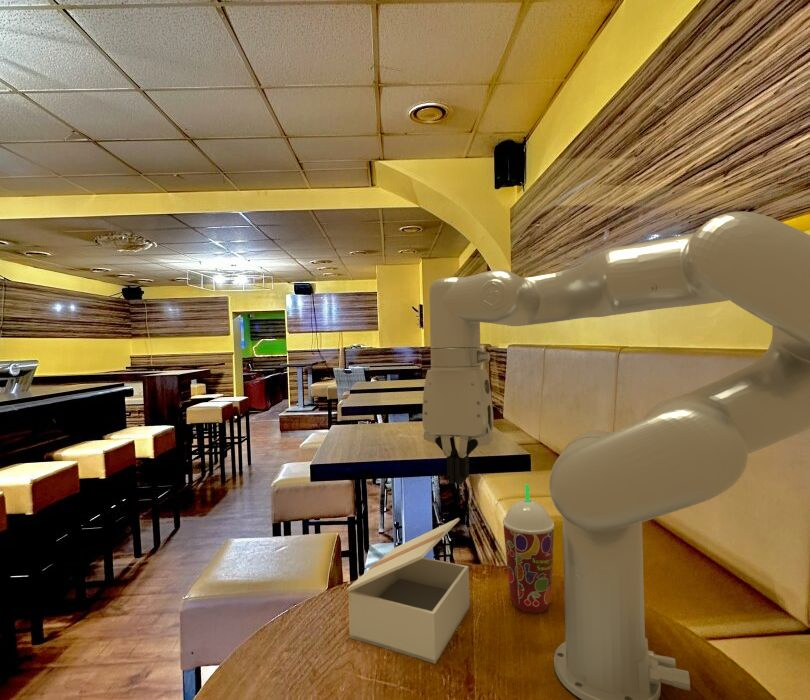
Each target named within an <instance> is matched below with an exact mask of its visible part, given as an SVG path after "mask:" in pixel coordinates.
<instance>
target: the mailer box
mask: <svg viewBox="0 0 810 700" xmlns="http://www.w3.org/2000/svg"><path fill="white" fill-rule="evenodd" d="M347 593H348V595H347V596H348V624H349V625H348V627H349V628H348V631H349V634H348V635H349V638H350V639H353V640H355V641H356V640H357V641H360V642H363V643H366V644H369V645H372V646H376V647H378V648H382V649H386V650H389V651H391V652H396V653H398V654H402V655H405V656H409V657H411V658H415V659H418V660H422V661H424V662H427V663H432V664H436V663H437V662H438V661H439V658H441V656H442V653H444V651H445V649H446V647H447V646H448V643H450V640H451V639H452V637H453V636H454V633H456V631H457V629H458V628H459V626H460V624H461V622H462V621H463V619H464V618H465V616H466V614H467V613H468V612H469V609H470V607H471V606H470V605H471V604H470V603H471V601H470V600H471V599H470V567H469V566H468V565H465V564H459V563H455V562H448V561H444V560H439V559H433V558H427V557H425V556H424V557H423V558H422V559H420V560H418V561H416V562H413V563H411V564H409V565H407V566H404V567H402V568H400V569H398V570H395V571H393V572H391V573H389V574H386V575H384V576H382V577H380V578H377V579H375V580H373V581H371V582H368V583H366V584H364V585H362V586H359V587H357V588H355V589H353V590H350V591H348V592H347Z"/></svg>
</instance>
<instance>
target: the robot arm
mask: <svg viewBox="0 0 810 700" xmlns="http://www.w3.org/2000/svg"><path fill="white" fill-rule="evenodd" d="M428 293H429V294H428V295H429V332H430V333H429V334H430V335H429V336H430V339H429V340H430V369H427V371H426V374H425V381H424V387H423V394H422V395H423V397H422V427H423V430H424V432H423V440H425V441H426V442H430V443H432V444H436V445H437V447H439V449H441V450H442V452H443V453H442V454H443V455H444V456H445V457H446V475H447V477H449V484H450V485H451V484H452V485H454V484H456V485H462V484H463V483H464V482H466V481H467V479H468V478H469V476H470V455H471V454H472V452H473V451H475V449H476V448H478V447H484V446H490V445H491V444H492V443H494V439H493V435H492V431H493V429H494V409H493V400H492V391H491V384H490V378H489V375H488V370H487V368H482V366H483V364H484V363H485V362H490V360H491V353H490V351H489V352H488V351H486V352H485V351H483V349H482V348H481V323H485V324H495V325H500V326H501V325H502V326H507V327H522V326H523V327H524V326H525V327H527V326H531V325H532V326H533V325H534V326H535V325H539V324H541V325H543V324H548V323H558V322H564V321H570V320H571V321H572V320H578V319H585V318H604V317H605V318H606V317H610V316H617V315H624V314H632V313H639V312H646V311H655V310H662V309H671V308H672V309H673V308H680V307H691V306H698V305H706V304H707V305H708V304H714V303H722V302H728V301H730V302H731V303H733V304H734V305H736V306H738V307H739V308H741V309H743V310H744V311H746V312H748V313H749V314H752V315H753V316H754V317H756V318H758V319H759V320H761V321H763V322H765V323H767V324H769V325H770V326H772V327H771V328H772V332H771V333H772V336H771V341H770V344H769V346H768V348H767V349H766V351H765V352H764V354H762V355H761V357H759V358H758V359H757V360H755V361H754V362H753V363H751V364H749V365H747V366H745V367H744V368H741V369H739V370H737V371H734V372H732V373H730V374H728V375H727V376H724V377H723V378H720V379H718V380H716V381H713V382H710V383H708V384H706V385H703V386H701V387H699V388H697V389H696V388H695V389H694V390H691V391H689V392H687V393H684V394H681V395H678V396H676V397H673V398H670V399H666V400H664V401H661V402H659V403H657V404H656V405H655V406H653V407H652V408H651V409H649V411H648V412H647V413H646V415H645V416H644V418H643V419H641V420H639V421H636V422H634V423H632V424H630V425H627V426H625V427H623V428H620V429H618V430H615V431H613V432H609V431H605V430H589V431H585V432H582V433H580V434H578V435H577V436H574V438H573V439H571V440H570V441H569V442H568V444H567V445H565V447H564V448H563V450H562V451H561V452H560V454H559V455H558V457H557V459H556V460H555V462H554V463H553V466H552V468H551V471H550V474H549V479H548V489H549V494H550V498H551V500H552V503H553V506H554V507H555V509H556V510H557V512H559V514H560V515H561V516H562V551H563V552H562V553H563V554H562V557H563V558H562V559H563V587H564V588H563V589H564V590H563V592H564V593H563V594H564V596H563V597H564V622H565V623H564V625H565V628H564V630H565V641H564V642H562V643H561V644H560V645H558V647H556V650H555V652H554V656H553V664H554V665H553V667H554V671H555V674H556V676H557V678H558V679H559V681H560V682H561V683H562V684H563V686H564V687H565V688H566V689H567V690H568V691H569V692H571V694H573V695H574V696H575V697H577V698H579V699H581V700H659V698H660V697H661V688H662V686H661V684H665V685H669V686H672V687H674V688H678V689H682V690H686V691H689V692H690V691H691V679H690V672H689V671H688V670H683V669H680V668H677V665H676V658H675V657H670V656H667V655H659V654H656V653H655V652H654V650H653V651H652V650H649V643H648V642H649V640H648V637H646V630H645V629H646V628H645V625H646V623H645V594H644V593H645V591H644V588H645V587H644V553H643V552H644V548H643V523H644V522H647V521H650V520H653V519H656V518H660V517H663V516H665V515H669V514H671V513H674V512H678V511H680V510H684V509H687V508H690V507H693V506H696V505H700V504H702V503H704V502H706V501H709V500H711V499H714V498H716V497H718V496H719V495H720V496H721V494H723V493H725V492H727V491H728V490H729V489H731V488H732V487H733V486H734V485H735V484H736V483H737V482H738V481H739V479H740V478H741V477H742V475H743V474H744V472H745V470H746V469H747V464H748V459H749V454H751V453H755V452H756V451H760V450H762V449H764V448H767V447H771V446H773V445H774V444H777V443H779V442H782V441H784V440H786V439H789V438H792V437H794V436H796V435H798V434H802V433H804V432H805V431H807V430H810V234H809V233H807V232H804V231H802V230H800V229H798V228H796V227H794V226H791V225H789V224H787V223H784V222H783V221H781V220H778V219H775V218H773V217H771V216H767V215H765V214H761V213H757V212H752V211H733V212H732V211H731V212H726V213H723V214H720V215H717V216H715V217H713V218H711V219H710V220H709V219H708V221H706V222H705V223H703V224H702V225H701V226H700V227H698V229H697V230H696V231H695V232H691V233H688V234H682V235H676V236H672V237H671V236H670V237H666V238H661V239H655V240H650V241H644V242H639V243H633V244H628V245H622V246H616V247H612V248H611V247H610V248H608V249H605V250H602V251H601V252H598V253H596V254H595V255H593V256H592V257H591V258H589V259H588V260H586V261H584V262H583V263H581V264H579V265H576V266H574V267H572V268H571V267H570V268H569V269H565V270H561V271H557V272H551V273H546V274H541V275H534V276H530V277H522V276H520V275H518V274H516V273H515V272H512V271H510V270H507V269H492V270H489V271H488V270H487V271H484V272H480V273H477V274H472V275H468V276H452V277H450V276H449V277H442V278H438V279H435V280H434V281H433V282H431V284H430V287H429V292H428ZM457 437H458V438H459V444H458V445H457V441H456V438H457Z"/></svg>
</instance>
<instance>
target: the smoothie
mask: <svg viewBox="0 0 810 700" xmlns="http://www.w3.org/2000/svg"><path fill="white" fill-rule="evenodd" d="M524 490H525V493H524V494H525V495H524V496H525V499H522V500H519V501H517V502H515V503H513V504H512V505H511V506H510V507H509V509H508V510H507V512H506V515H505V517H503V519H502V524H503V535H504V547H505V548H504V549H505V556H506V558H505V559H506V567H507V568H506V569H507V580H508V591H509V592H508V593H509V597H510V598H511V599H512V603H513V605H514V606H515V607H516V608H517V609H518V610H520V611H522V612H525V613H531V614H534V613H535V614H538V613H542V612H544V611H547V609H548V607H549V604H550V603H551V601H552V591H553V589H552V588H553V587H552V586H553V563H554V561H553V559H554V558H553V557H554V533H555V532H554V530H555V523H554V521H553V520H552V518H551V516H550V514H549V513H548V511H547V510H546V509H545V507H544V506H543V505H541V504H540V503H539V502H538V501H537V502H536V501H534V500H530V498H531V497H530V484H528V483H527V484H524Z"/></svg>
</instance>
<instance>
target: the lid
mask: <svg viewBox="0 0 810 700" xmlns="http://www.w3.org/2000/svg"><path fill="white" fill-rule="evenodd" d="M460 520H461V519H460V517H457V518H455V519H453V520H450V521H448V522H447V523H444V524H441V525H440V526H437V527H436V528H434V529H432V530H430V531H429V530H428V531H427V532H425V533H423V534H421V535H418V536H416V537H415V538H413V539H410V540H408V541H406V542H403V543H402V544H400V545H397V546H395V547H394V548H392V549H391V550H390V551H389V552H388V553H387V554H385V556H383V557H382V558H381V559H379V560H378V561H377V562H375V563H374V564H373V565H371V566H370V567H369V568H368V570H367V571H366V572H365V573H363V574H362V575H360V577H359V578H358V579H356V580H355V581H354V582H353V583H351V584H350V585H349V586H348V587H347V588H346V592H347V593H348V592H349V591H350V590H353V589H355V588H357V587H359V586H362V585H364V584H366V583H368V582H371V581H373V580H375V579H377V578H380V577H382V576H384V575H386V574H389V573H391V572H393V571H395V570H398V569H400V568H402V567H404V566H407V565H409V564H411V563H413V562H416V561H418V560H420V559H422V558H423V557H424V558H425V556H427V554H428V553H429V552H430V551H431V550H432V549H433V548H434V547H435V546H436V545H437V544H438V543H439V542H441V540H442V539H443V538H444V537H445V536H446V535H447V534H448V532H450V531H451V530H452V529H453V527H454V526H455V525H456V524H458V523H459V521H460Z"/></svg>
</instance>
